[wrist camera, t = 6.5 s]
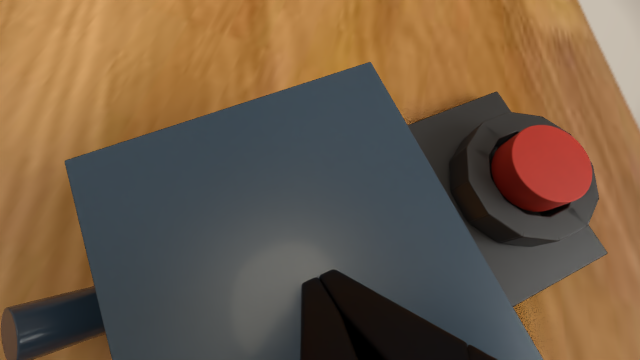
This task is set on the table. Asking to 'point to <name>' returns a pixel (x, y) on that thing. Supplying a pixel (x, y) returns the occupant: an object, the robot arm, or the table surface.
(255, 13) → the table surface
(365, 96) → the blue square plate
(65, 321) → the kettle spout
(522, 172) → the red button
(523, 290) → the push button switch
